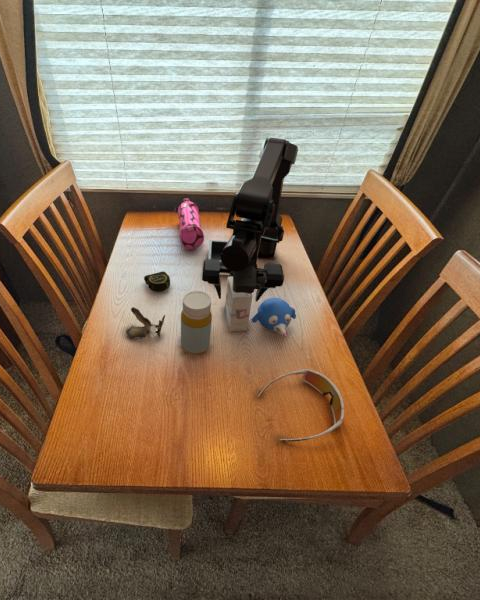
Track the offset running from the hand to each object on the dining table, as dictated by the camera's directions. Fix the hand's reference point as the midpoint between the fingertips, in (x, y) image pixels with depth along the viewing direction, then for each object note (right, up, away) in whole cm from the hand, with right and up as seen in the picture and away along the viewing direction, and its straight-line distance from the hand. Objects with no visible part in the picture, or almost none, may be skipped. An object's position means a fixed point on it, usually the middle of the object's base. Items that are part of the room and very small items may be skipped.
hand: (238, 299), depth 81 cm
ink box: (0, -6, +5) cm, 8 cm away
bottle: (-11, -12, -2) cm, 16 cm away
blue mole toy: (+10, -8, +2) cm, 13 cm away
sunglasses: (+11, -23, -14) cm, 29 cm away
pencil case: (-13, +24, +38) cm, 46 cm away
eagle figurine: (-24, -9, +1) cm, 25 cm away
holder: (-2, +12, +24) cm, 27 cm away
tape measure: (-22, +4, +15) cm, 27 cm away
